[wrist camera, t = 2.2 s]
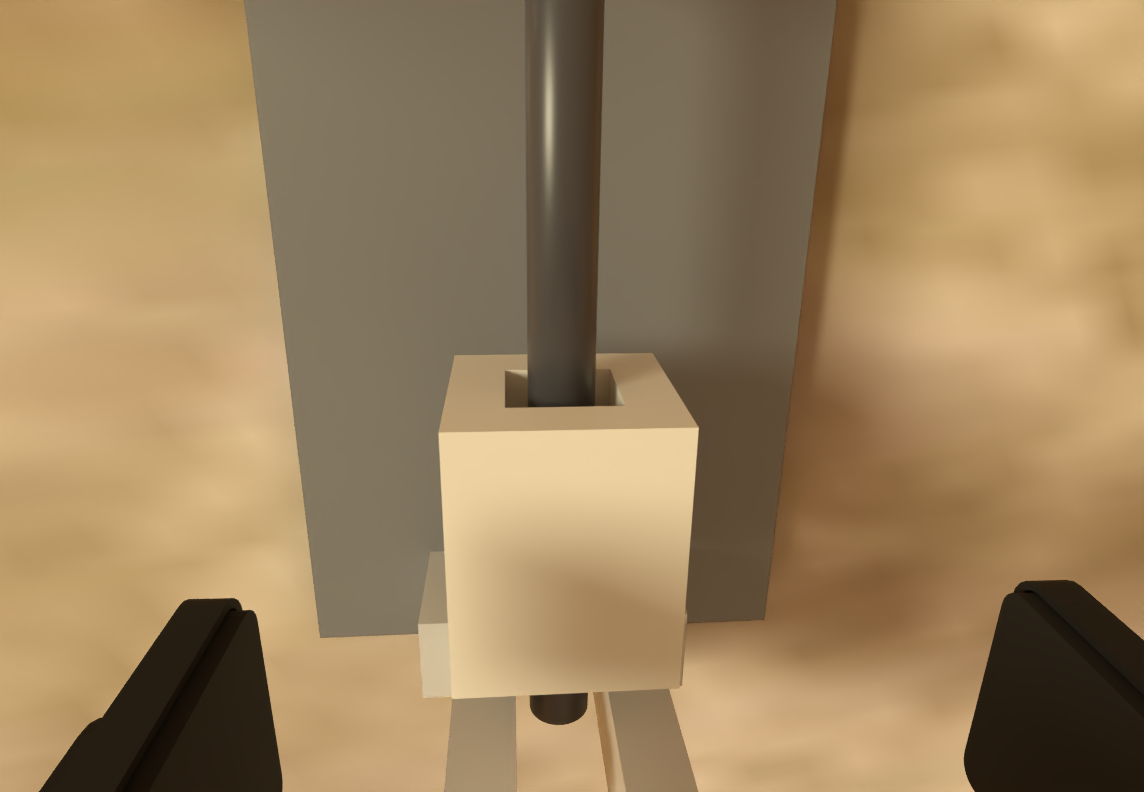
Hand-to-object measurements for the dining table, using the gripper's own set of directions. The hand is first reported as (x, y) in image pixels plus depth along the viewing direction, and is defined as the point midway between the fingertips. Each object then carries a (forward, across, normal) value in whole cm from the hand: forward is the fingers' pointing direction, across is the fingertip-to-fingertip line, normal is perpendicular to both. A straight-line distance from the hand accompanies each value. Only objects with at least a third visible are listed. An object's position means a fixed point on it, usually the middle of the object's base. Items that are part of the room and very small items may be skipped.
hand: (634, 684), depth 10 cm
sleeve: (+7, +1, 0) cm, 7 cm away
